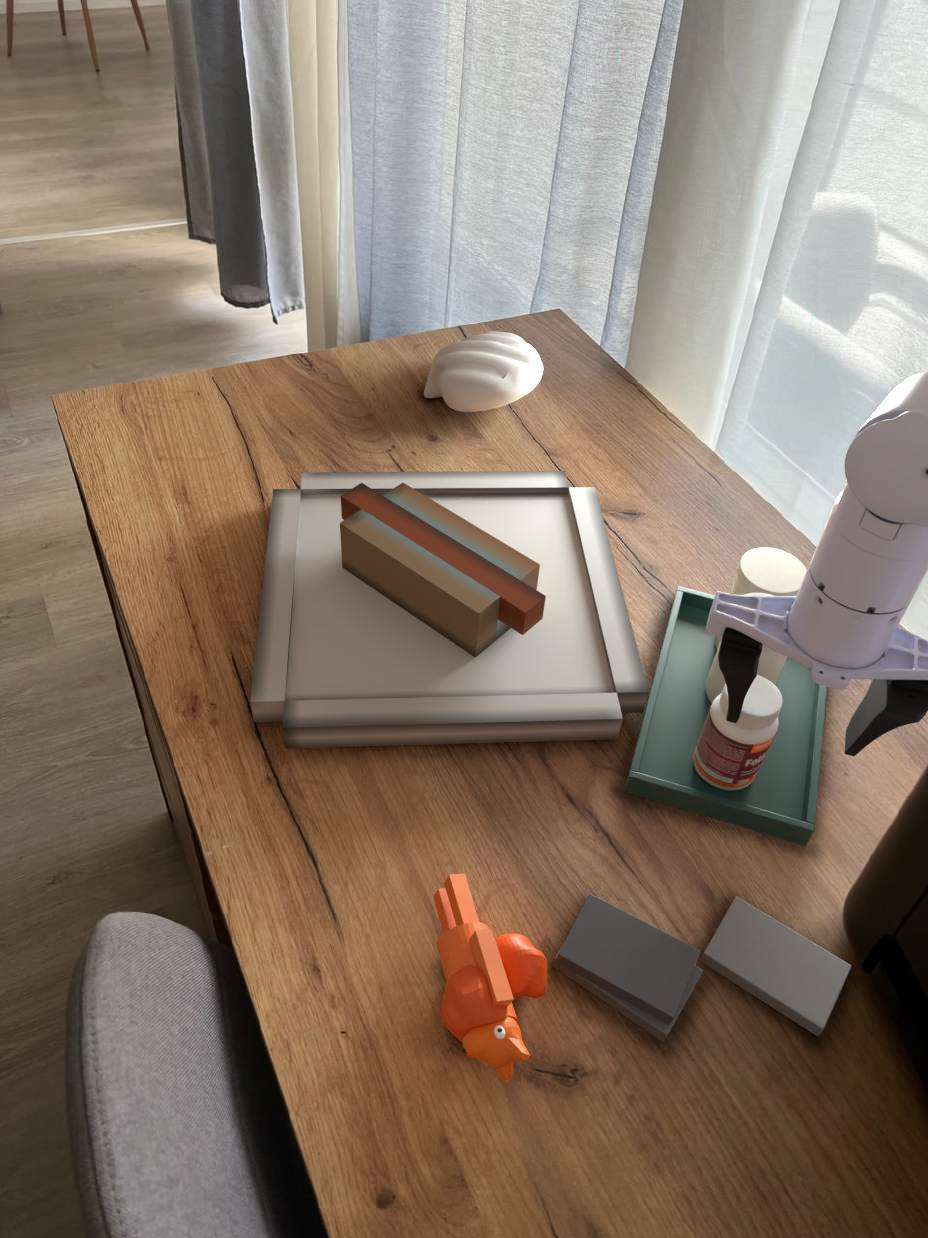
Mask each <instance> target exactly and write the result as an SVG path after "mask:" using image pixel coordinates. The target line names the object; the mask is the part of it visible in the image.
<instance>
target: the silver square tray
mask: <svg viewBox="0 0 928 1238" xmlns="http://www.w3.org/2000/svg"><path fill="white" fill-rule="evenodd" d="M566 473H567V472H566V471H565V470H518V471H517V470H514V471H513V470H511V471H510V470H509V471H507V470H504V471H502V470H501V471H500V470H499V471H494V470H493V471H489V470H488V471H487V470H486V471H484V470H483V471H482V470H481V471H312V472H311V471H309V472H307V471H305V472H304V471H303V472H301V479H300V488H273V489H272V495H271V503H270V504H271V506H270V515H269V523H268V531H267V532H268V534H267V542H266V543H267V544H266V551H265V562H264V570H263V578H262V579H263V580H262V587H261V588H262V589H261V599H260V605H259V606H260V607H259V615H258V624H257V625H258V627H257V634H256V644H255V653H254V663H253V672H252V681H251V690H250V698H249V703H250V709H251V714H252V720H253V723H282V726H281V727H282V736H283V742H284V748H285V749H313V748H315V749H318V748H349V747H350V748H352V747H385V746H386V747H387V746H418V745H419V746H421V745H453V744H455V745H456V744H460V745H461V744H491V743H492V744H493V743H495V744H496V743H525V742H526V743H527V742H561V741H565V742H566V741H592V740H594V741H595V740H596V741H597V740H599V741H600V740H618V738H619V735H620V731H621V726H622V724H623V720H624V719H623V718H624V717H623V714H628V713H629V714H633V713H644V712H645V708H646V704H647V700H648V697H649V693H650V689H649V687H648V683H647V679H646V675H645V671H644V668H643V664H642V660H641V657H640V653H639V649H638V645H637V641H636V637H635V634H634V630H633V626H632V622H631V619H630V615H629V611H628V607H627V604H626V600H625V599H626V598H625V595H624V592H623V587H622V585H621V581H620V575H619V573H618V569H617V565H616V561H615V558H614V553H613V550H612V546H611V542H610V537H609V535H608V531H607V527H606V523H605V520H604V516H603V512H602V508H601V506H600V501H599V497H598V493H597V489H596V487H595V486H582V487H581V486H577V487H576V486H575V487H573V486H569V482H568V478H567V474H566Z"/></svg>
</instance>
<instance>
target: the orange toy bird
mask: <svg viewBox="0 0 928 1238" xmlns="http://www.w3.org/2000/svg"><path fill="white" fill-rule="evenodd" d="M443 884H444V887H441V888H437V890H436V891H435V893H434V895H433V896H432V897H433V902H434V903H435V904H434V905H435V908H436V912H437V915H438V919H439V922H440V926H441V930H442V934H441V935H439V937H437V940H436V943H435V944H436V948H437V953H438V955H439V959H440V963H441V967H442V970H443V974H444V977H445V981H446V985H445V989H444V993H443V997H442V1003H441V1004H442V1005H441V1011H440V1018H441V1020H442V1022H443V1024H444V1026H445V1028H446V1029H447V1030H448V1032H450V1033H451V1034H452V1035H453V1036H454V1037H455V1038H456V1039H457V1040H458V1041H460V1042H461V1043H462V1052H463V1053H464V1054H465V1055H466V1056H468V1057H469V1058H472V1059H476V1060H478V1061H480V1062H482V1063H484V1064H486V1065H488V1066H492V1067H493V1068H494V1069H495V1070H496V1073H497V1074H498V1076H499V1077H500V1079H501V1081H502V1082H509V1081H510V1080H511V1079H512V1077H513V1076H514V1063H515V1061H518V1062H523V1063H524V1062H526V1061H529V1059H530V1057H531V1054H530V1052H529V1050H528V1049H527V1047H526V1045H525V1043H524V1041H523V1039H522V1038H523V1037H522V1031H521V1028H520V1025H519V1024H518V1021H519V1019H518V1017H517V1013H516V1010H515V1007H514V1003H513V1001H514V1000H515V999H518V998H522V997H526V998H529V999H534V1000H535V999H536V1000H537V999H540V998H543V997H545V996H546V994H547V988H548V959H547V958H546V956H545V954H544V953H543V952H542V951H541V950H539V949H537V948H536V947H535V946H534V945H533V944H532V942H531V940H530V939H529V938H528V937H527V936H526V935H523V934H521V933H516V932H512V933H511V932H509V933H504V934H501V935H498V936H496V937H495V935H494V932H493V929H492V928H490V927H489V925H488V924H486V923H483V922H480V919H479V916H478V913H477V908H476V906H475V902H474V900H473V896H472V893H471V890H470V886H469V883H468V879H467V877H466V874H465V873H451V874H449V873H448V876H447V877H446V879H445V880H444V882H443Z"/></svg>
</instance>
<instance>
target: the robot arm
mask: <svg viewBox="0 0 928 1238" xmlns="http://www.w3.org/2000/svg"><path fill="white" fill-rule="evenodd" d="M844 476H845V483H844V487H843V490H842V491H841V492H840V493H839V494H838V496H837V497H836V499H835V501H834V504H833V506H832V508H831V511H830V513H829V515H828V517H827V520H826V523H825V526H824V528H823V530H822V532H821V535H820V538H819V540H818V542H817V545H816V547H815V549H814V552H813V555H812V556H811V559H810V562H809V565H808V566H807V569H806V571H807V572H806V574H805V576H804V579H803V581H802V584H801V586H800V589H799V591H798V593H797V596H746V595H735V594H730V593H729V592H728V593H727V592H724V591H716V592H715V594H714V595H715V597H714V600H713V603H712V606H711V609H710V613H709V617H708V621H707V626H706V630H705V633H707V634H711V635H714V636H719V637H721V636H722V639H721V644H720V649H719V654H718V660H719V668H720V670H721V672H722V674H723V676H724V679H725V682H726V686H727V691H728V703H729V706H728V711H727V717H726V720H727V721H729V722H733V723H737V721H738V719H739V717H740V714H741V710H742V706H743V702H744V699H745V696H746V694H747V692H748V690H749V688H750V686H751V684H752V683H753V681H754V679H755V678H756V676H757V670H758V664H759V658H760V655H761V652H762V646H763V644H764V645H766V646H768V647H770V648H772V649H773V650H775V651H777V652H779V653H781V654H783V655H785V656H787V657H788V658H790V659H792V660H794V661H796V662H798V663H800V664H802V665H803V666H805V667H807V668H809V669H810V671H811V674H810V677H811V680H812V681H813V682H814V683H816V684H819V685H822V686H826V687H827V688H830V689H834V690H836V691H837V690H839V691H844V690H846V689H847V688H848V686H849V684H850V682H851V680H871V682H870V684H869V687H868V689H867V691H866V693H865V695H864V697H863V698H862V700H861V702H860V703H859V705H858V706H857V708H856V710H855V711H854V713H853V714H852V716H851V718H850V721H849V722H848V724H847V726H846V730H845V737H844V739H845V740H844V755H847V756H851V757H855V756H857V755H858V754H859V753H860V752H861V751H862V750H865V748H866V747H867V746H868V745H870V744H871V743H873V742H874V741H875V740H877V739H878V738H881V736H883V735H885V734H887V733H889V732H891V731H893V730H895V729H898V728H901V727H903V726H907V725H911V724H916V723H919V722H920V721H922V720H923V719H924V717H925V716H926V714H927V713H928V640H927V639H925V638H923V637H921V636H919V635H916V634H915V633H913V632H911V631H908V630H907V629H904V628H902V627H901V626H900V623H901V621H902V619H903V617H904V616H905V614H906V612H907V609H908V608H909V606H910V604H911V603H912V600H913V598H914V596H915V594H916V593H917V591H918V589H919V587H920V586H921V583H922V582H923V580H924V578H925V576H926V575H927V572H928V371H924V372H921V373H917V374H914V375H912V376H910V377H908V378H906V379H905V380H904V381H903V382H902V383H900V384H898V385H896V387H894V388H893V389H892V390H891V392H890V393H889V394H888V395H887V396H886V397H885V399H884V400H883V401H882V402H881V403H880V405H879V406H878V407H877V409H876V410H875V411H874V412H873V413H872V415H871V416H870V417H869V418H868V419H867V420H866V422H865V423H864V424H863V425H862V426H861V427H860V429H858V431H857V432H856V434H855V436H854V437H853V438H852V441H851V443H850V444H849V446H848V448H847V451H846V453H845V457H844Z"/></svg>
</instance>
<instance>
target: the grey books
mask: <svg viewBox="0 0 928 1238" xmlns="http://www.w3.org/2000/svg"><path fill="white" fill-rule="evenodd" d="M700 954H701V950H700V949H698V948H696V947H694V946H692V945H690V944H688V943H686V942H685V941H683V940H681V939H680V938H677V937H675V936H673V935H671V934H670V933H667V932H666V931H664V930H662V929H659V928H658V927H656V926H654V925H651V924H650V923H648V922H646V921H645V920H643V919H640V918H638V917H636V915H633V914H631V913H629V912H628V911H625V910H623V909H621V908H619V907H617V906H616V905H614V904H612V903H610V902H608V901H606V900H604V899H602V898H600V897H599V896H596V895H594V894H592V893H589V894H588V896H587V898H586V900H585V901H584V903H583V906H582V908H581V909H580V911H579V913H578V915H577V916H576V919H575V920H574V923H573V925H572V927H571V929H570V931H569V933H568V935H567V937H566V939H565V940H564V942H563V944H562V945H561V946H560V948H559V949H558V951H557V953H556V954H555V956H554V957H553V959H552V960H553V961H552V964H551V966H552V968H554V969H556V970H557V971H559V972H560V973H561V974H563V975H564V976H566V977H568V978H569V979H570V980H572V981H573V982H574V983H576V984H578V985H579V986H580V987H581V988H583V989H585V990H586V991H588V992H589V993H590V994H592V995H593V996H594V997H597V998H598V999H599V1000H601V1001H602V1002H604V1003H605V1004H607V1005H608V1006H610V1007H611V1008H612V1009H614V1010H616V1011H617V1012H618V1013H619V1014H621V1015H623V1017H626V1018H627V1019H629V1020H630V1021H631V1022H633V1023H634V1024H635V1025H637V1026H639V1027H640V1028H641V1029H643V1030H645V1031H646V1032H648V1033H649V1034H650V1035H652V1036H653V1037H655V1039H658V1040H659V1041H661V1042H662V1043H665V1042H666V1039H667V1037H668V1036H669V1034H670V1032H671V1031H672V1029H673V1027H674V1025H675V1023H676V1022H677V1020H678V1018H679V1015H680V1014H681V1012H682V1011H683V1009H684V1007H685V1006H686V1003H687V1002H688V1000H689V998H690V997H691V995H692V993H693V991H694V989H695V987H696V986H697V984H698V982H699V980H700V978H701V977H702V974H703V973H704V969H702V968H701V967H699V966H697V962H698V960H699V961H700V963H702V964H704V965H705V966H707V968H710V969H711V970H713V971H714V972H716V973H718V974H719V975H721V976H722V977H724V978H726V979H727V980H729V981H730V982H731V983H733V984H735V986H736V985H737V986H738V987H740V988H741V989H743V990H744V991H745V992H747V993H748V994H750V995H752V996H754V997H755V998H756V999H758V1000H760V1001H761V1002H763V1003H764V1004H766V1005H768V1006H769V1007H771V1008H773V1009H774V1010H775V1011H777V1012H778V1013H780V1014H782V1015H783V1016H784V1017H786V1018H787V1019H789V1020H791V1021H793V1022H794V1023H796V1024H797V1025H799V1026H800V1027H802V1028H803V1029H805V1030H807V1031H808V1032H810V1033H811V1034H813V1035H815V1036H816V1037H818V1036H820V1035H821V1034H822V1032H823V1031H824V1030H825V1028H826V1025H827V1023H828V1021H829V1018H830V1016H831V1014H832V1012H833V1010H834V1007H835V1005H836V1003H837V1001H838V998H839V996H840V994H841V991H842V989H843V987H844V986H845V985H844V984H845V983H846V980H847V978H848V975H849V973H850V971H851V969H852V964H850V963H848V962H846V961H845V960H843V959H842V958H840V957H838V956H836V955H835V954H833V953H831V952H830V951H829V950H827V949H825V948H823V947H822V946H820V945H818V944H816V943H815V942H813V941H812V940H810V939H808V938H807V937H805V936H804V935H802V934H800V933H798V932H797V931H795V930H793V928H790V927H789V926H787V925H785V924H784V923H782V922H780V921H779V920H777V919H775V918H773V917H772V916H770V915H769V914H767V913H765V912H763V911H762V910H760V909H759V908H757V907H755V906H754V905H752V904H751V903H749V902H747V901H746V900H744V899H742V898H740V897H739V896H737V895H736V896H735V897H734V899H733V900H732V902H731V904H730V906H729V907H728V909H727V911H726V913H725V915H724V916H723V918H722V919H721V921H720V922H719V924H718V926H717V928H716V930H715V932H714V934H713V936H712V937H711V939H710V940H709V943H708V945H707V946H706V948H705V950H704V952H703V954H702V955H701V957H700ZM699 957H700V959H699Z"/></svg>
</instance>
